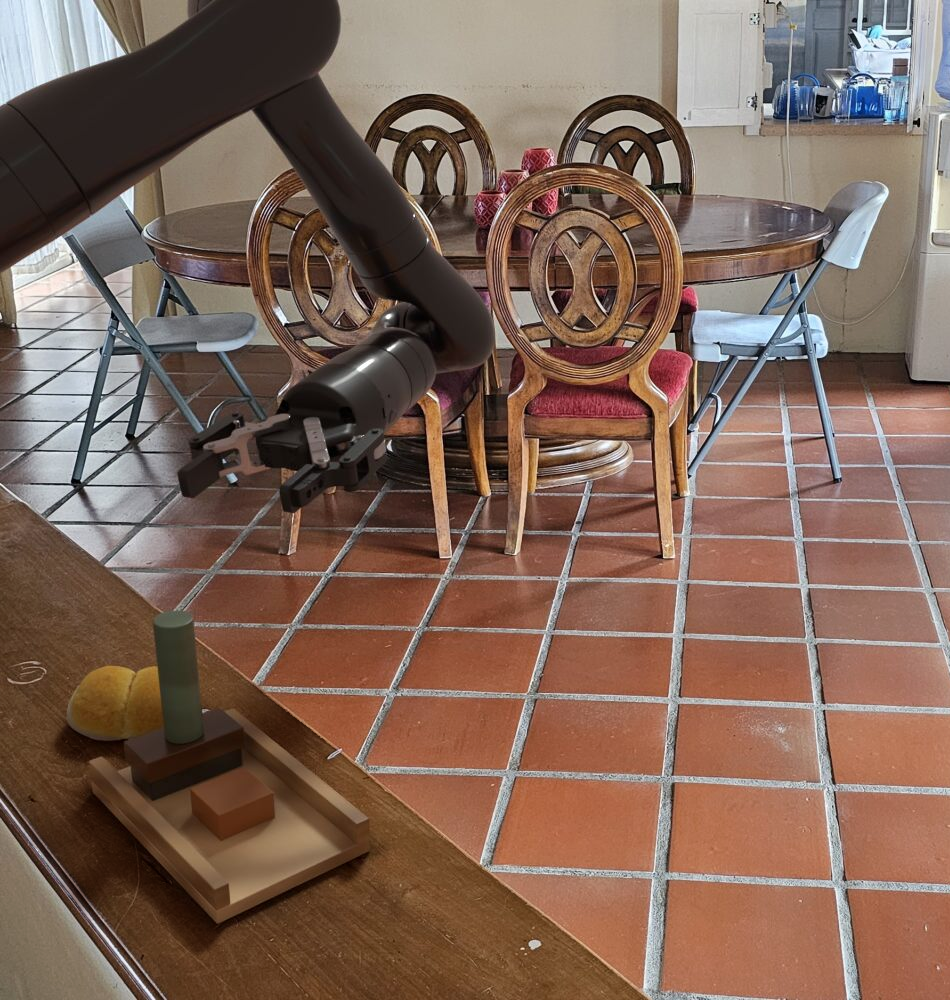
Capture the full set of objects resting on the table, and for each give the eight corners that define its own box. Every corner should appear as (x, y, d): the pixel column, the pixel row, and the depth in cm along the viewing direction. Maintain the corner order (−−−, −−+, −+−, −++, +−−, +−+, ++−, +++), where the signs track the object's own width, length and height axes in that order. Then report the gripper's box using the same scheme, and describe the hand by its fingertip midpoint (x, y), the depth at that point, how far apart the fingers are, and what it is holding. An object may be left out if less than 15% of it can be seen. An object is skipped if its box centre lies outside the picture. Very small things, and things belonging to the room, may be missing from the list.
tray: (92, 792, 90) (88, 760, 90) (235, 737, 98) (233, 707, 97) (217, 924, 78) (214, 889, 77) (370, 851, 86) (369, 818, 85)
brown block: (191, 813, 87) (189, 788, 86) (245, 790, 90) (243, 766, 89) (220, 841, 84) (218, 815, 84) (275, 817, 87) (273, 792, 86)
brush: (127, 780, 90) (109, 624, 86) (222, 744, 95) (209, 594, 90) (151, 804, 88) (133, 644, 83) (247, 765, 92) (235, 612, 88)
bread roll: (185, 745, 96) (180, 698, 95) (60, 748, 95) (53, 700, 94) (205, 688, 104) (201, 644, 102) (90, 690, 103) (84, 646, 102)
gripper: (265, 354, 106) (140, 435, 93) (420, 370, 102) (312, 457, 88) (279, 437, 110) (161, 527, 96) (430, 455, 105) (328, 553, 92)
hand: (233, 493), depth 92 cm, fingers open, 8 cm apart
